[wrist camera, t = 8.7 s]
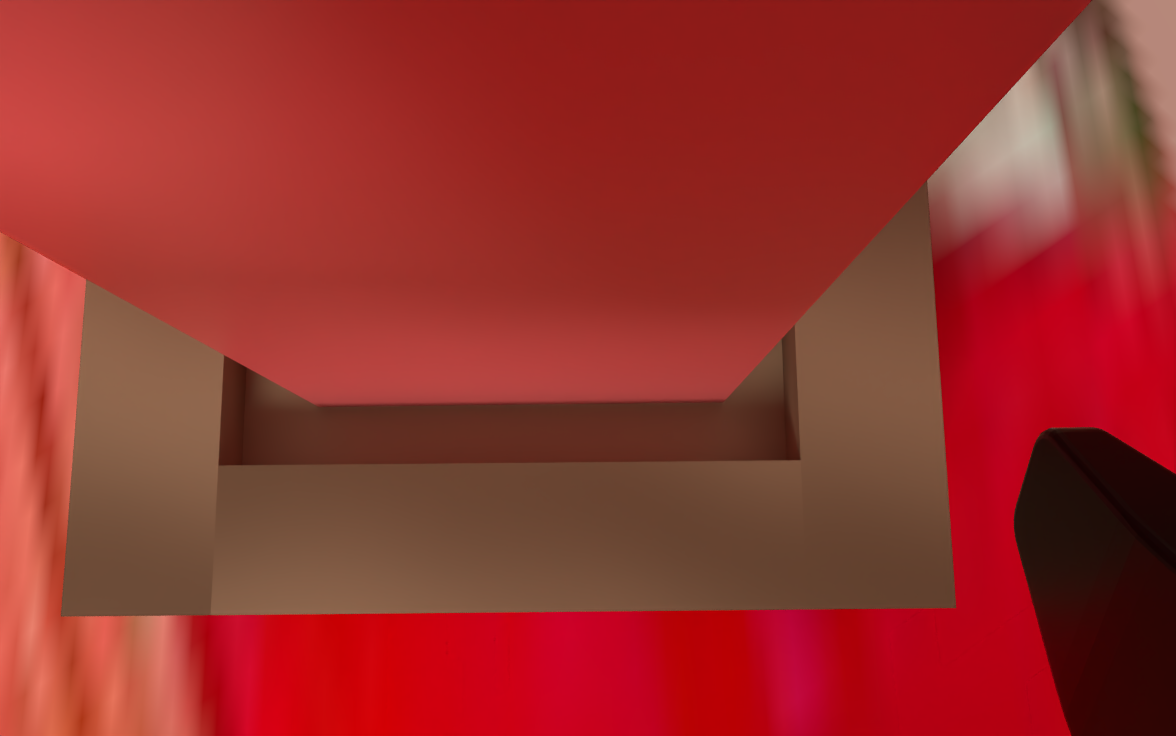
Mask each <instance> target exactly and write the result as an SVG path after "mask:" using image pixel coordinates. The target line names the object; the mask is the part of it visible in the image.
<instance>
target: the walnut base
mask: <svg viewBox="0 0 1176 736" xmlns="http://www.w3.org/2000/svg"><path fill="white" fill-rule="evenodd" d="M890 608H956V600H955V586H954V571H953V556H952V542H951V527H950V512H949V498H948V483H947V468H946V453H945V439H944V424H943V409H942V395H941V380H940V365H939V351H938V336H937V321H936V306H935V292H934V277H933V262H932V248H931V233H930V218H929V203H928V189H927V181H926V182H925V183H924V184H923V185H922V186H921V187H920V188H919V190H918V191H917V192H916V193H915V194H914V195H913V196H912V197H911V198H910V199H909V200H908V202H907V203H906V204H905V205H904V206H903V207H902V208H901V209H900V210H899V211H898V212H897V214H896V215H895V216H894V217H893V218H892V219H891V220H890V221H889V222H888V223H887V224H886V226H885V227H884V228H883V229H882V230H881V231H880V232H879V233H878V234H877V235H876V236H875V238H874V239H873V240H872V241H871V242H870V243H869V244H868V245H867V246H866V247H865V248H864V250H863V251H862V252H861V253H860V254H859V255H858V256H857V257H856V258H855V259H854V260H853V262H852V263H851V264H850V265H849V266H848V267H847V268H846V269H845V270H844V271H843V272H842V273H841V275H840V276H839V277H838V278H837V279H836V280H835V281H834V282H833V283H832V284H831V285H830V287H829V288H828V289H827V290H826V291H825V292H824V293H823V294H822V295H821V296H820V297H819V299H818V300H817V301H816V302H815V303H814V304H813V305H812V306H811V307H810V308H809V309H808V311H807V312H806V313H805V314H804V315H803V316H802V317H801V318H800V319H799V320H798V321H797V323H796V324H795V325H794V326H793V327H792V328H791V329H790V330H789V331H788V332H787V333H786V335H785V336H784V337H783V338H782V339H781V340H780V341H779V342H778V343H777V344H776V345H775V347H774V348H773V349H772V350H771V351H770V352H769V353H768V354H767V355H766V356H765V357H764V359H763V360H762V361H761V362H760V363H759V364H758V365H757V366H756V367H755V368H754V369H753V371H752V372H751V373H750V374H749V375H748V376H747V377H746V378H745V379H744V380H743V381H742V383H741V384H740V385H739V386H738V387H737V388H736V389H735V390H734V391H733V392H732V393H731V395H730V396H729V397H728V398H727V399H726V400H725V401H724V402H711V403H624V404H537V405H450V406H363V407H318V406H316V405H314V404H312V403H310V402H309V401H307V400H305V399H303V398H301V397H300V396H298V395H296V394H294V393H292V392H290V391H289V390H287V389H285V388H283V387H281V386H280V385H278V384H276V383H274V382H272V381H270V380H269V379H267V378H265V377H263V376H261V375H260V374H258V373H256V372H254V371H252V370H250V369H249V368H247V367H245V366H243V365H241V364H240V363H238V362H236V361H234V360H232V359H230V358H229V357H227V356H225V355H223V354H221V353H220V352H218V351H216V350H214V349H212V348H210V347H209V346H207V345H205V344H203V343H201V342H200V341H198V340H196V339H194V338H192V337H190V336H189V335H187V334H185V333H183V332H181V331H180V330H178V329H176V328H174V327H172V326H170V325H169V324H167V323H165V322H163V321H161V320H160V319H158V318H156V317H154V316H152V315H150V314H149V313H147V312H145V311H143V310H141V309H139V308H138V307H136V306H134V305H132V304H130V303H129V302H127V301H125V300H123V299H121V298H119V297H118V296H116V295H114V294H112V293H110V292H109V291H107V290H105V289H103V288H101V287H99V286H98V285H96V284H94V283H92V282H90V281H89V280H87V279H86V291H85V304H84V317H83V330H82V344H81V357H80V370H79V383H78V397H77V410H76V423H75V437H74V450H73V463H72V476H71V490H70V503H69V516H68V529H67V543H66V556H65V569H64V582H63V596H62V609H61V616H161V615H265V614H370V613H474V612H578V611H682V610H786V609H890Z"/></svg>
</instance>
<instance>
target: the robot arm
mask: <svg viewBox="0 0 1176 736" xmlns="http://www.w3.org/2000/svg"><path fill="white" fill-rule="evenodd" d="M1014 532H1015V538H1016V543H1017V547H1018V550H1019V554H1020V558H1021V561H1022V565H1023V569H1024V572H1025V576H1026V580H1027V583H1028V587H1029V591H1030V594H1031V598H1032V602H1033V606H1034V609H1035V613H1036V617H1037V620H1038V624H1039V628H1040V631H1041V635H1042V639H1043V642H1044V646H1045V650H1046V654H1047V657H1048V661H1049V665H1050V668H1051V672H1052V676H1053V679H1054V683H1055V687H1056V690H1057V693H1058V697H1059V700H1060V703H1061V707H1062V710H1063V713H1064V717H1065V719H1066V722H1067V725H1068V727H1069V730H1070V733H1071V735H1072V736H1176V474H1175V473H1173V472H1171V471H1170V470H1168V469H1166V468H1165V467H1163V466H1162V465H1160V464H1158V463H1157V462H1155V461H1153V460H1152V459H1150V458H1149V457H1147V456H1145V455H1144V454H1142V453H1140V452H1139V451H1137V450H1135V449H1134V448H1132V447H1131V446H1129V445H1127V444H1126V443H1124V442H1122V441H1121V440H1119V439H1118V438H1116V437H1114V436H1113V435H1111V434H1109V433H1108V432H1106V431H1104V430H1102V429H1098V428H1093V427H1075V428H1049V429H1047V430H1045V431H1044V432H1042V433H1041V434H1040V435H1039V437H1038V438H1037V440H1036V442H1035V445H1034V447H1033V451H1032V454H1031V457H1030V461H1029V464H1028V467H1027V471H1026V474H1025V477H1024V481H1023V484H1022V487H1021V491H1020V494H1019V497H1018V501H1017V504H1016V508H1015V514H1014Z"/></svg>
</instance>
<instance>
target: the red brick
mask: <svg viewBox="0 0 1176 736" xmlns="http://www.w3.org/2000/svg"><path fill="white" fill-rule="evenodd" d="M1091 1H1092V0H0V232H1V233H3V234H5V235H7V236H9V237H10V238H12V239H14V240H16V241H18V242H19V243H21V244H23V245H25V246H27V247H29V248H30V249H32V250H34V251H36V252H38V253H39V254H41V255H43V256H45V257H47V258H49V259H50V260H52V261H54V262H56V263H58V264H59V265H61V266H63V267H65V268H67V269H69V270H70V271H72V272H74V273H76V274H78V275H79V276H81V277H83V278H85V279H87V280H89V281H90V282H92V283H94V284H96V285H98V286H99V287H101V288H103V289H105V290H107V291H109V292H110V293H112V294H114V295H116V296H118V297H119V298H121V299H123V300H125V301H127V302H129V303H130V304H132V305H134V306H136V307H138V308H139V309H141V310H143V311H145V312H147V313H149V314H150V315H152V316H154V317H156V318H158V319H160V320H161V321H163V322H165V323H167V324H169V325H170V326H172V327H174V328H176V329H178V330H180V331H181V332H183V333H185V334H187V335H189V336H190V337H192V338H194V339H196V340H198V341H200V342H201V343H203V344H205V345H207V346H209V347H210V348H212V349H214V350H216V351H218V352H220V353H221V354H223V355H225V356H227V357H229V358H230V359H232V360H234V361H236V362H238V363H240V364H241V365H243V366H245V367H247V368H249V369H250V370H252V371H254V372H256V373H258V374H260V375H261V376H263V377H265V378H267V379H269V380H270V381H272V382H274V383H276V384H278V385H280V386H281V387H283V388H285V389H287V390H289V391H290V392H292V393H294V394H296V395H298V396H300V397H301V398H303V399H305V400H307V401H309V402H310V403H312V404H314V405H316V406H318V407H363V406H450V405H537V404H624V403H711V402H724V401H725V400H726V399H727V398H728V397H729V396H730V395H731V393H732V392H733V391H734V390H735V389H736V388H737V387H738V386H739V385H740V384H741V383H742V381H743V380H744V379H745V378H746V377H747V376H748V375H749V374H750V373H751V372H752V371H753V369H754V368H755V367H756V366H757V365H758V364H759V363H760V362H761V361H762V360H763V359H764V357H765V356H766V355H767V354H768V353H769V352H770V351H771V350H772V349H773V348H774V347H775V345H776V344H777V343H778V342H779V341H780V340H781V339H782V338H783V337H784V336H785V335H786V333H787V332H788V331H789V330H790V329H791V328H792V327H793V326H794V325H795V324H796V323H797V321H798V320H799V319H800V318H801V317H802V316H803V315H804V314H805V313H806V312H807V311H808V309H809V308H810V307H811V306H812V305H813V304H814V303H815V302H816V301H817V300H818V299H819V297H820V296H821V295H822V294H823V293H824V292H825V291H826V290H827V289H828V288H829V287H830V285H831V284H832V283H833V282H834V281H835V280H836V279H837V278H838V277H839V276H840V275H841V273H842V272H843V271H844V270H845V269H846V268H847V267H848V266H849V265H850V264H851V263H852V262H853V260H854V259H855V258H856V257H857V256H858V255H859V254H860V253H861V252H862V251H863V250H864V248H865V247H866V246H867V245H868V244H869V243H870V242H871V241H872V240H873V239H874V238H875V236H876V235H877V234H878V233H879V232H880V231H881V230H882V229H883V228H884V227H885V226H886V224H887V223H888V222H889V221H890V220H891V219H892V218H893V217H894V216H895V215H896V214H897V212H898V211H899V210H900V209H901V208H902V207H903V206H904V205H905V204H906V203H907V202H908V200H909V199H910V198H911V197H912V196H913V195H914V194H915V193H916V192H917V191H918V190H919V188H920V187H921V186H922V185H923V184H924V183H925V182H926V181H927V180H928V179H929V178H930V176H931V175H932V174H933V173H934V172H935V171H936V170H937V169H938V168H939V167H940V166H941V164H942V163H943V162H944V161H945V160H946V159H947V158H948V157H949V156H950V155H951V154H952V152H953V151H954V150H955V149H956V148H957V147H958V146H959V145H960V144H961V143H962V142H963V140H964V139H965V138H966V137H967V136H968V135H969V134H970V133H971V132H972V131H973V130H974V128H975V127H976V126H977V125H978V124H979V123H980V122H981V121H982V120H983V119H984V118H985V116H986V115H987V114H988V113H989V112H990V111H991V110H992V109H993V108H994V107H995V106H996V104H997V103H998V102H999V101H1000V100H1001V99H1002V98H1003V97H1004V96H1005V95H1006V94H1007V92H1008V91H1009V90H1010V89H1011V88H1012V87H1013V86H1014V85H1015V84H1016V83H1017V82H1018V80H1019V79H1020V78H1021V77H1022V76H1023V75H1024V74H1025V73H1026V72H1027V71H1028V70H1029V68H1030V67H1031V66H1032V65H1033V64H1034V63H1035V62H1036V61H1037V60H1038V59H1039V58H1040V56H1041V55H1042V54H1043V53H1044V52H1045V51H1046V50H1047V49H1048V48H1049V47H1050V46H1051V44H1052V43H1053V42H1054V41H1055V40H1056V39H1057V38H1058V37H1059V36H1060V35H1061V34H1062V32H1063V31H1064V30H1065V29H1066V28H1067V27H1068V26H1069V25H1070V24H1071V23H1072V22H1073V20H1074V19H1075V18H1076V17H1077V16H1078V15H1079V14H1080V13H1081V12H1082V11H1083V10H1084V8H1085V7H1086V6H1087V5H1088V4H1089V3H1090V2H1091Z"/></svg>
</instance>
